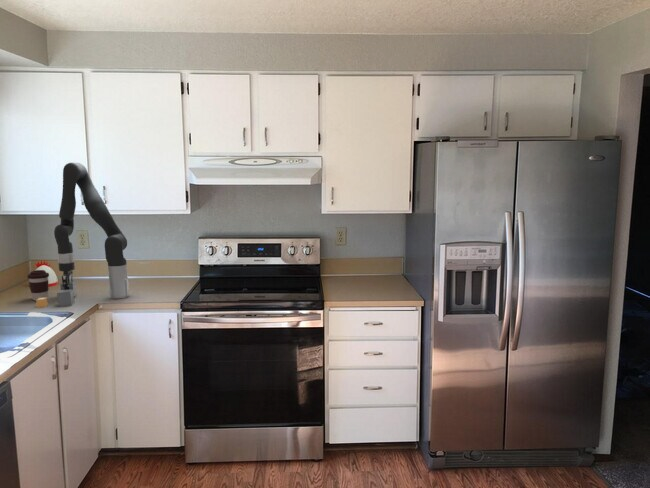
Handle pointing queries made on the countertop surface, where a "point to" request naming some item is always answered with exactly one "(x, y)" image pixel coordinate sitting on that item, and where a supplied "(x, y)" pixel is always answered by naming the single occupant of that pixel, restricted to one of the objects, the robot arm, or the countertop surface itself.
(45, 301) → the letter cube
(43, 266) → the kitchen timer
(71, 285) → the plain grey cube
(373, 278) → the countertop surface
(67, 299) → the matte grey cube
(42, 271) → the coffee cup
